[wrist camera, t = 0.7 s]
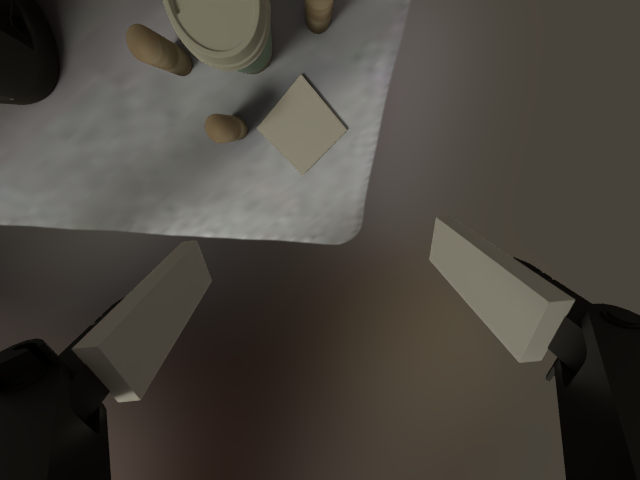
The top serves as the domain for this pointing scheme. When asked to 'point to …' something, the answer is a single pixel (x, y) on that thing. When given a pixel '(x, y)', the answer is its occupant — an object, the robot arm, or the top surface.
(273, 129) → the felt mat
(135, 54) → the spacer posts
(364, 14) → the top surface
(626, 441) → the robot arm
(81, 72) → the top surface
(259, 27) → the coffee cup
